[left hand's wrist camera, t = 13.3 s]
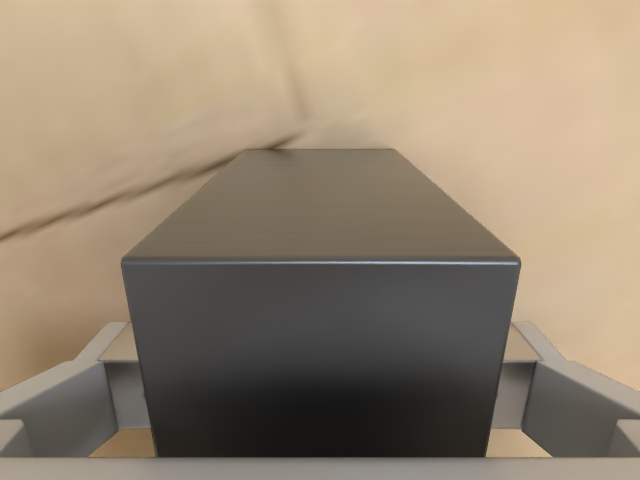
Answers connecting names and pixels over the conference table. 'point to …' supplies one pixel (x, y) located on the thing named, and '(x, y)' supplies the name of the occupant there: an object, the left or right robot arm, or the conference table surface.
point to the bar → (320, 312)
